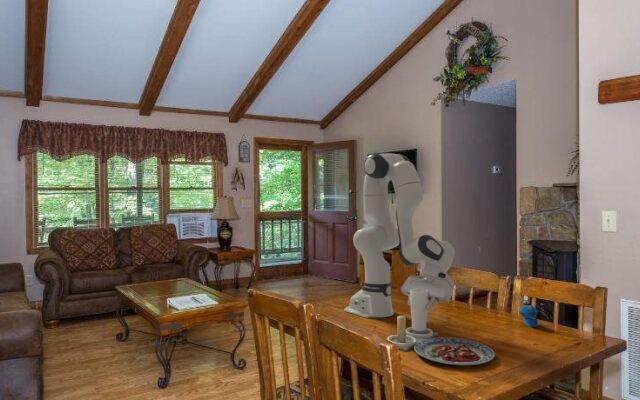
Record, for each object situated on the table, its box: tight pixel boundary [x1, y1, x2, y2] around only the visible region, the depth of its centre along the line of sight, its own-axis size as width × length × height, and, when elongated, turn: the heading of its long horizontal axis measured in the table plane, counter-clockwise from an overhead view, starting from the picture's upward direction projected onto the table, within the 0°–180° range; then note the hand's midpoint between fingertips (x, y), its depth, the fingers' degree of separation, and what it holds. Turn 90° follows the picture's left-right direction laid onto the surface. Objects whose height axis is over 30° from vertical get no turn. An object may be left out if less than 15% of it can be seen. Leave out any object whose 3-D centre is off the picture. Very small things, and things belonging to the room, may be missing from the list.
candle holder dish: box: [386, 315, 439, 352], centre depth 172 cm, size 10×24×10 cm, turn 140°
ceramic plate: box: [413, 337, 495, 366], centre depth 156 cm, size 26×26×3 cm
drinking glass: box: [410, 289, 429, 331], centre depth 177 cm, size 7×7×15 cm
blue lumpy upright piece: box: [518, 304, 539, 328], centre depth 190 cm, size 7×9×12 cm
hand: (418, 306), depth 177 cm, fingers closed on drinking glass, 6 cm apart
